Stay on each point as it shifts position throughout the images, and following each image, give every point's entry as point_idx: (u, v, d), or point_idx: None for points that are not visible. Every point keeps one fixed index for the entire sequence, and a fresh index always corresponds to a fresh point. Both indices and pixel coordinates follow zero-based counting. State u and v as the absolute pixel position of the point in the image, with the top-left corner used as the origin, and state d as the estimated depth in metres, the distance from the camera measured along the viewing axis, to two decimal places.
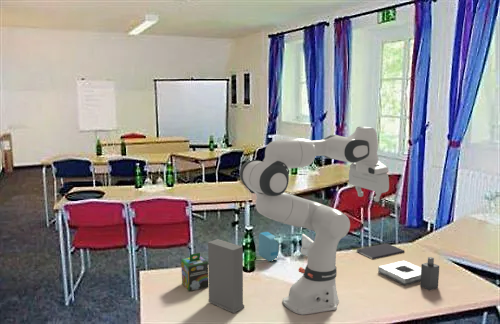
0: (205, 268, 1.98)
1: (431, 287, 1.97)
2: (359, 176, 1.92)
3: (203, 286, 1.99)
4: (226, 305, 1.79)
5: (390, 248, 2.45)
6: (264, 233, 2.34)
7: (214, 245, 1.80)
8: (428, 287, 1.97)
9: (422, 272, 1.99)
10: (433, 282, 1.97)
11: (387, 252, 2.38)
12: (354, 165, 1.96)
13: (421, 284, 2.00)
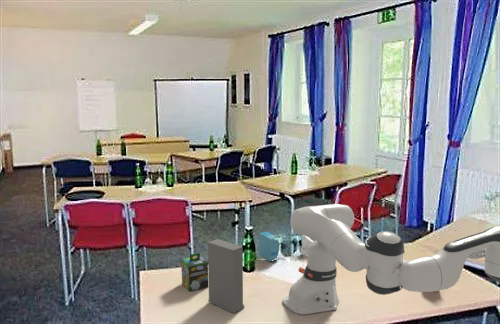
0: (205, 268, 1.98)
1: None
2: None
3: (203, 286, 1.99)
4: (226, 305, 1.79)
5: None
6: (264, 233, 2.34)
7: (214, 245, 1.80)
8: None
9: None
10: None
11: None
12: None
13: None
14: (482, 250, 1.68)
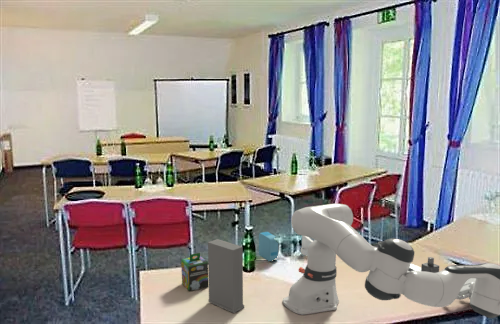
0: (205, 268, 1.98)
1: None
2: None
3: (203, 286, 1.99)
4: (226, 305, 1.79)
5: None
6: (264, 233, 2.34)
7: (214, 245, 1.80)
8: None
9: None
10: None
11: None
12: None
13: None
14: (467, 291, 1.78)
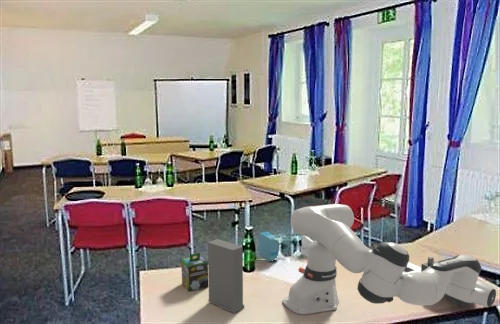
0: (205, 268, 1.98)
1: None
2: None
3: (203, 286, 1.99)
4: (226, 305, 1.79)
5: None
6: (264, 233, 2.34)
7: (214, 245, 1.80)
8: None
9: None
10: None
11: None
12: None
13: None
14: None
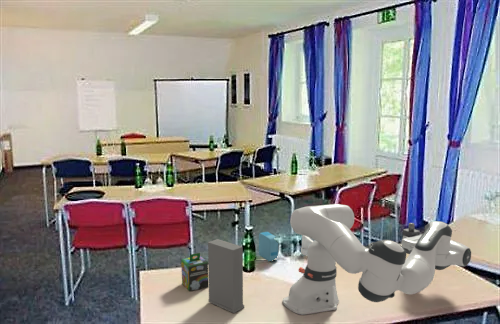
0: (205, 268, 1.98)
1: None
2: None
3: (203, 286, 1.99)
4: (226, 305, 1.79)
5: None
6: (264, 233, 2.34)
7: (214, 245, 1.80)
8: (409, 251, 2.05)
9: None
10: None
11: None
12: None
13: None
14: None
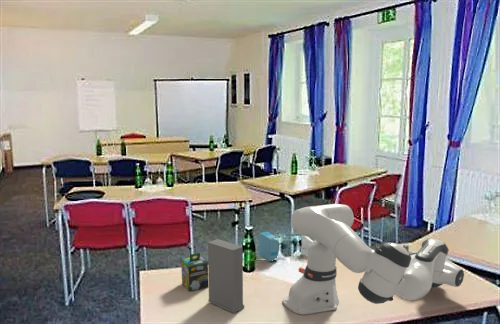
0: (205, 268, 1.98)
1: None
2: None
3: (203, 286, 1.99)
4: (226, 305, 1.79)
5: None
6: (264, 233, 2.34)
7: (214, 245, 1.80)
8: None
9: None
10: None
11: None
12: None
13: None
14: None
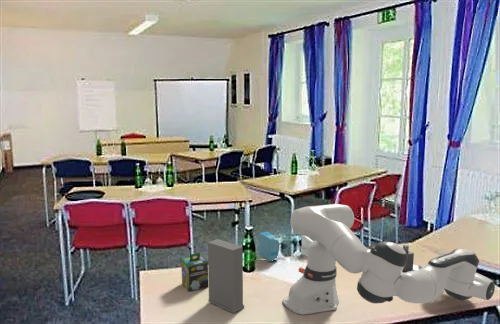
0: (205, 268, 1.98)
1: None
2: None
3: (203, 286, 1.99)
4: (226, 305, 1.79)
5: None
6: (264, 233, 2.34)
7: (214, 245, 1.80)
8: None
9: None
10: (408, 268, 2.09)
11: None
12: None
13: None
14: None
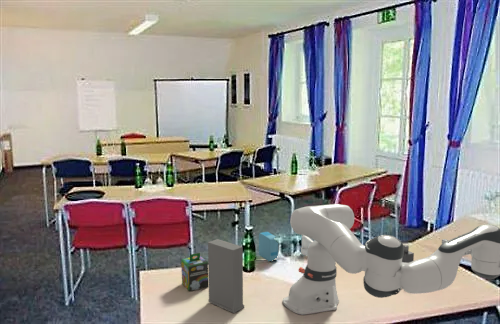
0: (205, 268, 1.98)
1: None
2: None
3: (203, 286, 1.99)
4: (226, 305, 1.79)
5: None
6: (264, 233, 2.34)
7: (214, 245, 1.80)
8: None
9: None
10: None
11: None
12: None
13: None
14: None
